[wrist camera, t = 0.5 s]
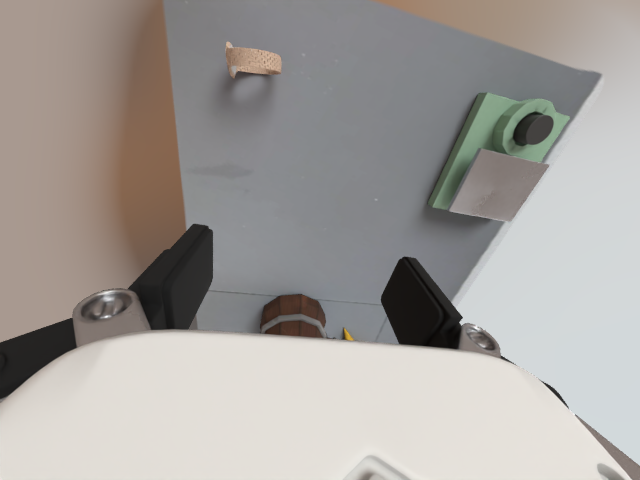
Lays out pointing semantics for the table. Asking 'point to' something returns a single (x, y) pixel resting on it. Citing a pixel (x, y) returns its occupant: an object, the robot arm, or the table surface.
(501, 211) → the brushed metal plate
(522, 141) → the button
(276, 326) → the wooden bucket
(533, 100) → the scale
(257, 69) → the perforated watch strap
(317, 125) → the table surface
